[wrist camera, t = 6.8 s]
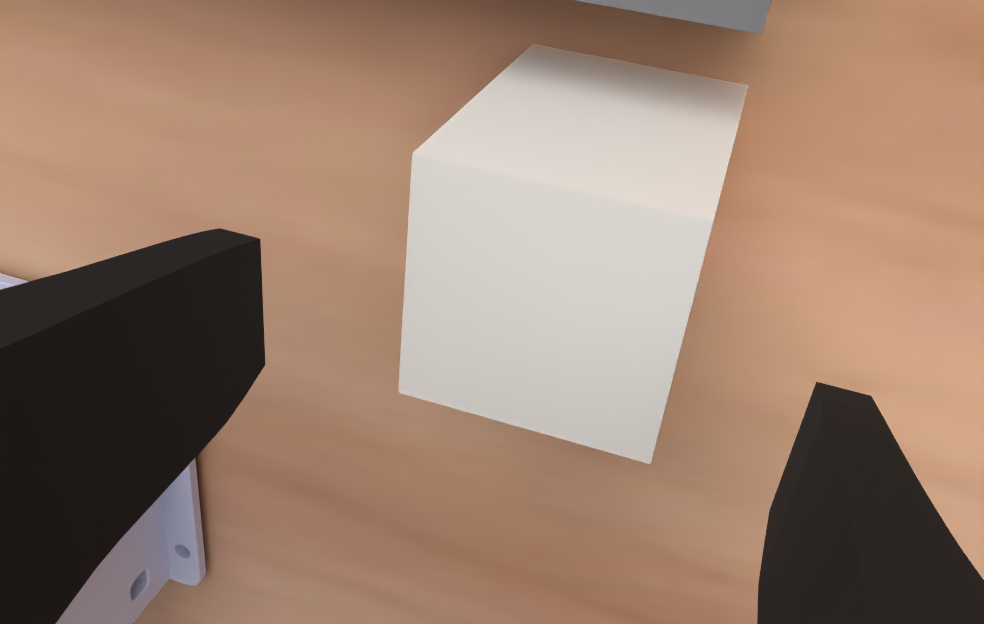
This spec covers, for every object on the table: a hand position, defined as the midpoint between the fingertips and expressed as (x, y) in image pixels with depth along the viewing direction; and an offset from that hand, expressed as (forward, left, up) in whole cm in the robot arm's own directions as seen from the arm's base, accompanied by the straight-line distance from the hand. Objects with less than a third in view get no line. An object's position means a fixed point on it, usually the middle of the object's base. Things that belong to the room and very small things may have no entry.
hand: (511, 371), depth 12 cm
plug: (0, 0, -7) cm, 7 cm away
